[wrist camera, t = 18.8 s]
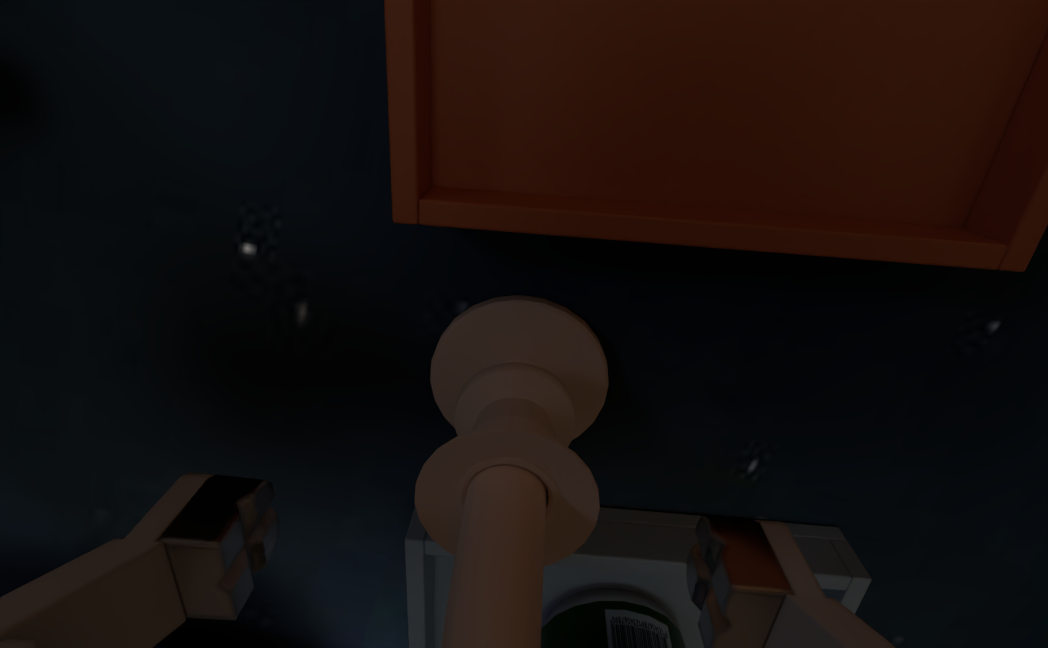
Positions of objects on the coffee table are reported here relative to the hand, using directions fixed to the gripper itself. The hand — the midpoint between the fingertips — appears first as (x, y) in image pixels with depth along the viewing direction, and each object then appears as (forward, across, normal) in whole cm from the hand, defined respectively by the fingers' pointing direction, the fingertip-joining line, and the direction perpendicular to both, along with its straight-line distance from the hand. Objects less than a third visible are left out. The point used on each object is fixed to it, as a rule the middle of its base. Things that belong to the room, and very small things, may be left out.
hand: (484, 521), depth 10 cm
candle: (+6, 0, 0) cm, 6 cm away
